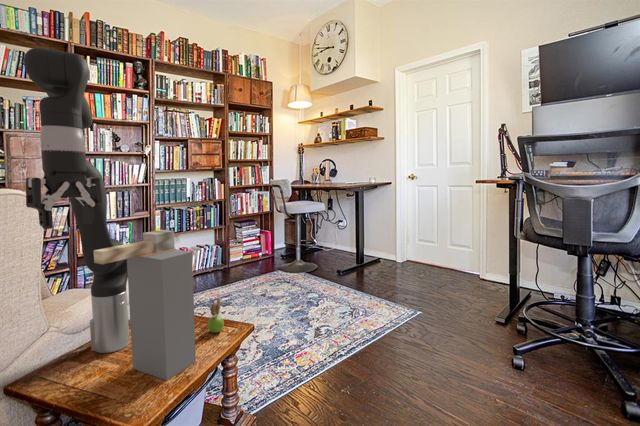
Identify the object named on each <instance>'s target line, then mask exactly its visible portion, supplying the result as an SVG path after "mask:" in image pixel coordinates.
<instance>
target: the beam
mask: <svg viewBox="0 0 640 426" xmlns="http://www.w3.org/2000/svg"><path fill="white" fill-rule="evenodd" d="M171 249H176V247H175V231H174V230H166V229H158V230H152V231H147V232H142V241H135V242H131V243H126V244H124V245H120V246H114V247H109V248H104V249H99V250H93V251H94V263H97V264H107V263H111V262H115V261H119V260H124V259H128V258H132V257H137V256H141V255H145V254H150V253H158V252H162V251H167V250H171Z"/></svg>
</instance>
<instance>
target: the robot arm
mask: <svg viewBox="0 0 640 426" xmlns="http://www.w3.org/2000/svg"><path fill="white" fill-rule="evenodd" d="M23 66H24V67H23V68H24V69H25V72H26V74H27V75H28V77H29V79H30V80H31V82H32V83H34V84H35V85H36V86H37V87H38V88H40V89H42V90H43V91H45V93H46V94H47V96H46V97H45V96H44V97H42V98H41V99H40V100H39V116H40V117H39V118H40V126H41V127H40V133H39V135H40V136H39V138H40V139H39V141H40V153H41V166H42V167H41V168H42V171H43V173H44V174H43V175H44V176H43V178H40V177H35V176H34V177H27V178H25V206H26V207H27V208H30V209H35V210H37V212H38V223H39V226H40V227H41V228H42V229H45V230H51V229H53V227H54V223H53V220H54V219H53V211H52V210H51V209H52V208H53V207H54V205H55V203H57V202H58V201H59V200H60V199H69V201H70V205H71V208H72V212H73V215H74V219H75V221H76V225H77V228H78V233H79V238H80V243H81V250H82V256H83V261H84V264H85V266H86V267H87V268H88V270H89V271H91V272H92V273H94V278H93V281H92V284H91V286H90V298H91V310H92V318H91V319H90V320H89V333H90V343H91V344H90V345H91V346H90V347H91V348H90V349H91V352H97V353H100V354H109V353H113V352H118V351H120V350H123V349H124V348H126V347H127V346H129V344H130V332H129V331H130V329H129V311H128V310H129V309H128V295H127V293H128V292H127V285H128V284H127V283H128V270H127V259H124V260H119V261H115V262H111V263H107V264H97V263H94V251H93V250H99V249H104V248H109V247H114V246H120V245H125V244H124V243H123V242H122V241H120V240H119V239H115V238H112V237H111V234H110V232H109V228H108V222H107V214H108V212H107V211H108V196H107V194H108V193H107V190H106V186H105V183H104V179H103V176H102V174H101V172H100V171H99V169H98V168H97V167H96V166H95V165H94V164H92V163H91V162H90V160H88V159H86V156H87V155H86V143H85V142H86V141H85V137H84V131H83V130H84V129H85V130H86V129H88V128H91V126H92V125H93V115H92V111H91V107H90V105H89V103H88V100H87V98H86V96H85V95H84V94H85V91H86V88H87V84H88V81H89V77H90V67H89V65H88V63H87V61H86V60H85V58H84V57H83V56H81V55H80V54H77V53H74V52H69V51H61V50H56V49H49V48H44V47H43V48H42V47H33V48H30V49H28V50H27V51H26V53H24V56H23ZM43 187H45V188H46V190H45V191H44V193H43V194H42V188H43Z"/></svg>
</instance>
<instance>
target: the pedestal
mask: <svg viewBox="0 0 640 426" xmlns="http://www.w3.org/2000/svg"><path fill="white" fill-rule="evenodd" d="M193 267H194V266H193V251H188V250H181V249H177V248H175V249H171V250H167V251H162V252H158V253H150V254H145V255H141V256H137V257H132V258H128V259H127V270H128V280H127V283H128V284H127V286H128V301H129V325H130V339H131V358H132V359H131V361H132V369H133V370H135V371H139V372H142V373H144V374H148V375H150V376H153V377H156V378H158V379H162V380H164V381H168V380H169V381H170V379H172V378H173V377H175V376H177V375H178V374H179V373H181V372H183V371H184V370H185V369H187V368H189V367H190V366H192V365H193V364H195V363H196V362H197V361H196V360H197V359H196V354H197V353H196V334H195V333H196V331H195V329H196V328H195V327H196V326H195V301H194V300H195V299H194V298H195V297H194V273H193V272H194V270H193Z"/></svg>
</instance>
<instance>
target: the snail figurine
mask: <svg viewBox="0 0 640 426" xmlns="http://www.w3.org/2000/svg"><path fill="white" fill-rule="evenodd" d="M216 295H217V298H216V302H213V303H212V304H211V307H210V315H211V317H210V318H209V319H208V321H207V323H206V324H207V329H208V331H209V332H211V333H214V334H216V333H220V332H221V331H222V330H223V328H224V326H225V321H224V319H223V318H222V317H221V316H220V312H221V295H222V294H220V293H219V294H216Z"/></svg>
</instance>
